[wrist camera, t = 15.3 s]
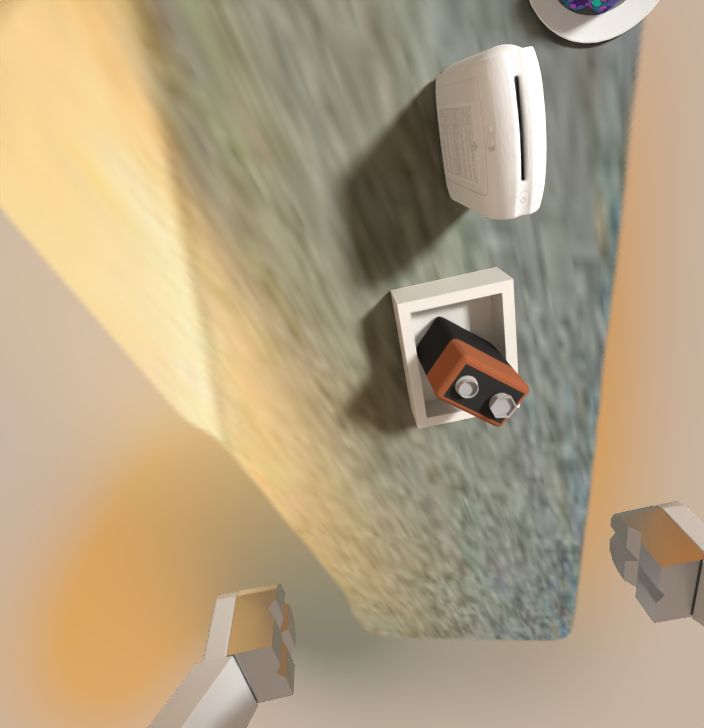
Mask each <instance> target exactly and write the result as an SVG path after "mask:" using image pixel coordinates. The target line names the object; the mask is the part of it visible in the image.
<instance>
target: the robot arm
mask: <svg viewBox="0 0 704 728" xmlns="http://www.w3.org/2000/svg"><path fill="white" fill-rule="evenodd" d="M611 527H612V528H613V530H614V531H615V534H614V535H613V536H612V538H611V539H610V552H611V556H612V560H613V562H614V564H615V566H616V568H617V570H618V572H619V573H620V575H621V576H622V578H623V579H624V580H625V581H627V582H628V583H630V584H632V585H634V586H636V598H637V599H638V601H639V602H640V604H641V605H642V607H643V608H644V609H645V611H646V612H647V614H648V615H649V617H650V618H651V619H652V621H653V622H654V623H656V622H662V621H667V620H674V619H680V618H686V617H692V616H693V617H692V618H693V619H694V620H696V621H697V622H698V623H700V624H701V625H703V626H704V524H703V523H702V522H701V521H700V520H699V519H698V518H697V517H696V516H695V515H694V514H693V513H692V512H691V511H690V510H689V509H688V508H687V507H686V506H685V505H684V504H683V503H680V502H678V501H675V502H670V503H665V504H661V505H656V506H649V507H645V508H640V509H636V510H631V511H626V512H622V513H617V514H614V515H613V516H612V518H611ZM284 597H285V592H284V590H283V588H282V586H281V584H275V585H270V586H264V587H258V588H253V589H246V590H241V591H236V592H231V593H226V594H220V595H219V596H218V598H217V600H216V602H215V606H214V611H213V616H212V620H211V625H210V630H209V635H208V640H207V644H206V649H205V654H204V659H203V662H199V663H196V665H195V666H194V667H193V669H192V670H191V671H190V672H189V674H188V675H187V676H186V678H185V679H184V681H183V682H182V683H181V684H180V686H179V687H178V688H177V689H176V691H175V692H174V694H173V695H172V696H171V697H170V699H169V700H168V701H167V703H166V704H165V705H164V707H163V708H162V709H161V711H160V712H159V713H158V714H157V716H156V717H155V718H154V720H153V721H152V723H151V724H150V725H149V726H148V728H247V726H248V724H249V722H250V720H251V718H252V716H253V714H254V712H255V710H256V709H257V707H258V704H257V703H260V702H265V701H269V700H273V699H278V698H282V697H286V696H290V695H293V692H294V667H295V665H294V663H293V660H292V658H291V655H290V654H291V652H292V651H293V649H294V647H295V624H294V618H293V614H292V611H291V608H290V605H289V604H287V603H285V602H284Z"/></svg>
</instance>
